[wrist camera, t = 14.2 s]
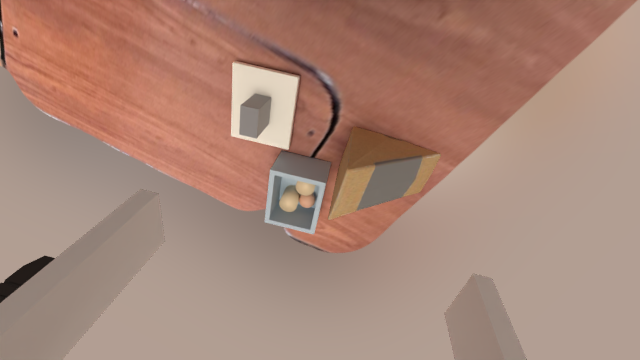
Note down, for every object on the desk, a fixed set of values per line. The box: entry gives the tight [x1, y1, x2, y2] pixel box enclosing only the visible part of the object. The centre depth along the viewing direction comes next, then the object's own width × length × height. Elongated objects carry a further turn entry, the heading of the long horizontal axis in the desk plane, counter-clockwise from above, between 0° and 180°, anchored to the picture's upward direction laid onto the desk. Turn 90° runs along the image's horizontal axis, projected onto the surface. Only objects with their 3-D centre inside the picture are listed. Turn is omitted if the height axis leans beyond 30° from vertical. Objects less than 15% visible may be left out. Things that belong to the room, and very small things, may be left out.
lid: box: [231, 61, 300, 150], centre depth 45 cm, size 12×10×8 cm
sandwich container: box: [328, 126, 441, 220], centre depth 44 cm, size 9×15×15 cm, turn 75°
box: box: [265, 151, 331, 234], centre depth 52 cm, size 11×9×7 cm
